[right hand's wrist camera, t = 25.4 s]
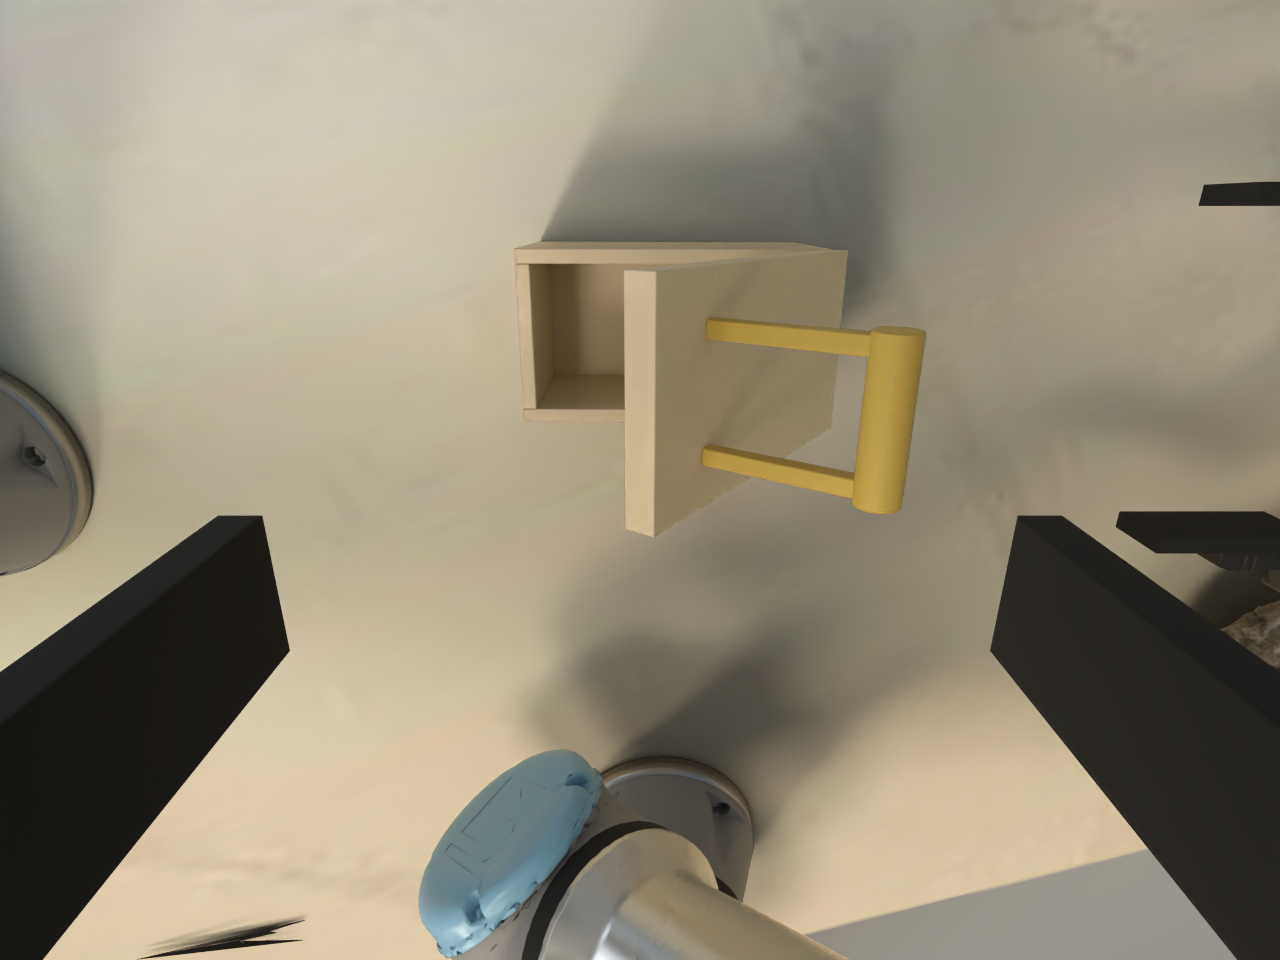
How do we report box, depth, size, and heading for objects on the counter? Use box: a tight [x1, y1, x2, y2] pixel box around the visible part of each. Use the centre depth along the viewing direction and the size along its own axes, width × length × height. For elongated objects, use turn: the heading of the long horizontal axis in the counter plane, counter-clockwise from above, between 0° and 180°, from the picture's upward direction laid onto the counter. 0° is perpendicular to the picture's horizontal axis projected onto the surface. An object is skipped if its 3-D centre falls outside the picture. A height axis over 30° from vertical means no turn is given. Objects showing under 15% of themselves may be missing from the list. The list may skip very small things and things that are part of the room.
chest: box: [514, 242, 832, 422], centre depth 41 cm, size 16×9×9 cm, turn 90°
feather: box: [137, 920, 304, 960], centre depth 65 cm, size 2×28×2 cm
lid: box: [624, 249, 926, 537], centre depth 28 cm, size 17×9×8 cm
